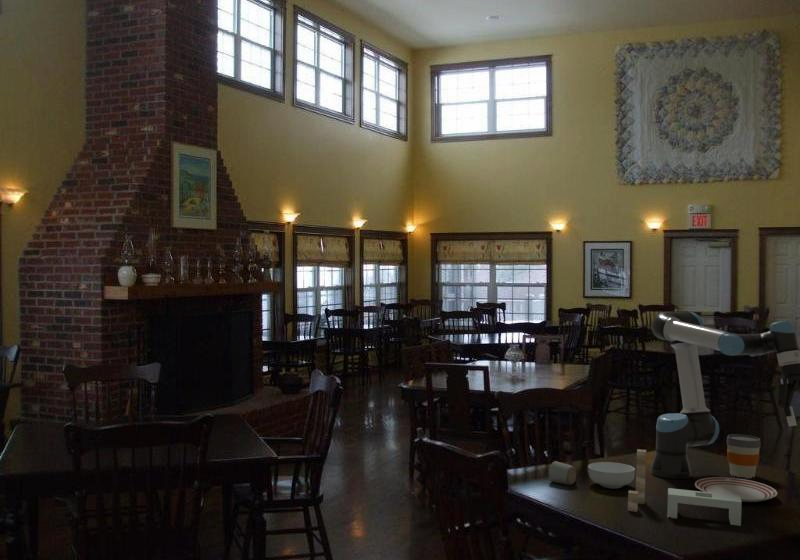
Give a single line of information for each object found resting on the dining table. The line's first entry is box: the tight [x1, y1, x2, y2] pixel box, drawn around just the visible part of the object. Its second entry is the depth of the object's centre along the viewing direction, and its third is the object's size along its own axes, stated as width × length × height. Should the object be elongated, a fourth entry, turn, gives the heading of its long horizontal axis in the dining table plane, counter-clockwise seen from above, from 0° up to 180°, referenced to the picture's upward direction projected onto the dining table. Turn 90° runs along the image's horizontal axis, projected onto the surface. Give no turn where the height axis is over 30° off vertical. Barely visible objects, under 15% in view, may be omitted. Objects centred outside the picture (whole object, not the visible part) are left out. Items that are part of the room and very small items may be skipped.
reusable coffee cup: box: [726, 434, 762, 479], centre depth 321 cm, size 12×13×15 cm
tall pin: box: [635, 448, 647, 505], centre depth 279 cm, size 3×3×18 cm
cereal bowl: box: [587, 461, 636, 489], centre depth 300 cm, size 17×17×7 cm
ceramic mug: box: [548, 460, 577, 486], centre depth 303 cm, size 11×8×8 cm
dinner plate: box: [694, 476, 778, 503], centre depth 292 cm, size 27×27×3 cm
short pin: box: [627, 490, 639, 513], centre depth 270 cm, size 3×3×6 cm
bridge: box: [666, 487, 743, 527], centre depth 263 cm, size 8×22×8 cm, turn 72°
